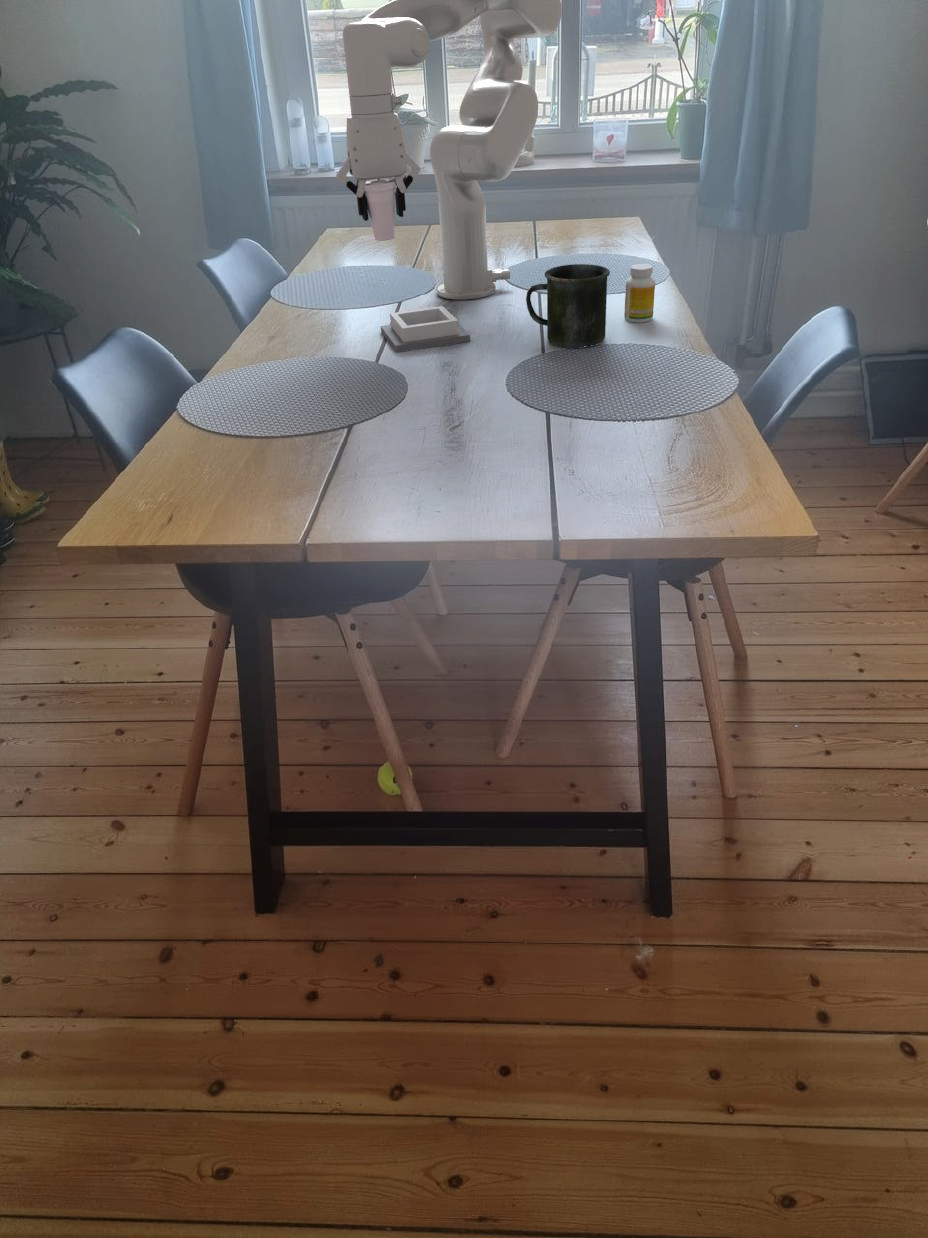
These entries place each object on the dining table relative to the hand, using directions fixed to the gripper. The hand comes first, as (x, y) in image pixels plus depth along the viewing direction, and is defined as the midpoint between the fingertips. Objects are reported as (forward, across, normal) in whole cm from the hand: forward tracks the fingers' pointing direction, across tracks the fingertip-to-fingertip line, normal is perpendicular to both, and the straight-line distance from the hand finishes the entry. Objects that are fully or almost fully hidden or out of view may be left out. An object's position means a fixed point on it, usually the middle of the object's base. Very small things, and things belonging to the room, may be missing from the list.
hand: (382, 216), depth 167 cm
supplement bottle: (+20, -44, +18) cm, 52 cm away
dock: (+20, -4, +12) cm, 23 cm away
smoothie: (+4, 0, 0) cm, 4 cm away
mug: (+20, -27, +25) cm, 42 cm away
